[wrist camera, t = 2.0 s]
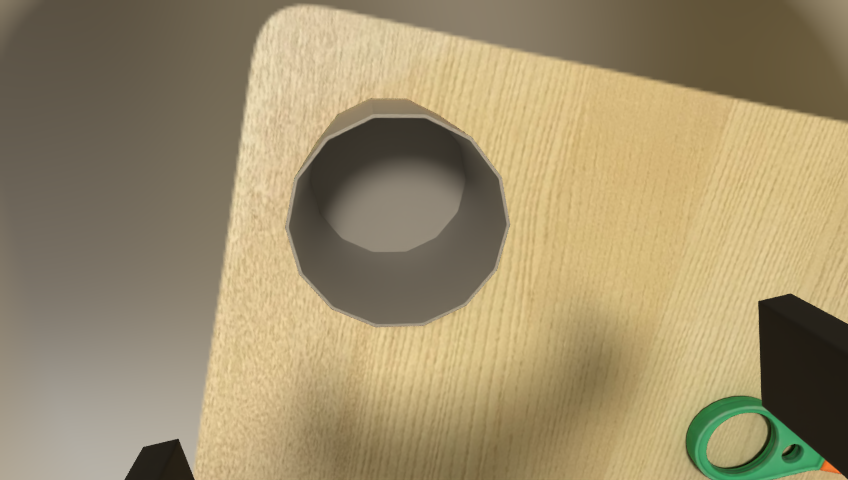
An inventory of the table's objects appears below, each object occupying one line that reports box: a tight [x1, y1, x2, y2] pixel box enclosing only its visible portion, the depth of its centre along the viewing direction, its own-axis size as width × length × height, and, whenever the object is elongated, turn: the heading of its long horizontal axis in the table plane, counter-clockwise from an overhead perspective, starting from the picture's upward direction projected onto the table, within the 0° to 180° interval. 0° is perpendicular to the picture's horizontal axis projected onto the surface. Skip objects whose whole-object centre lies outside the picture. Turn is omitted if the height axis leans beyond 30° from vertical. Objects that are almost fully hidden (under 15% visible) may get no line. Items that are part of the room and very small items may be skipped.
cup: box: [285, 99, 510, 327], centre depth 27 cm, size 8×8×10 cm
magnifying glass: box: [686, 396, 841, 480], centre depth 38 cm, size 15×6×2 cm, turn 76°
